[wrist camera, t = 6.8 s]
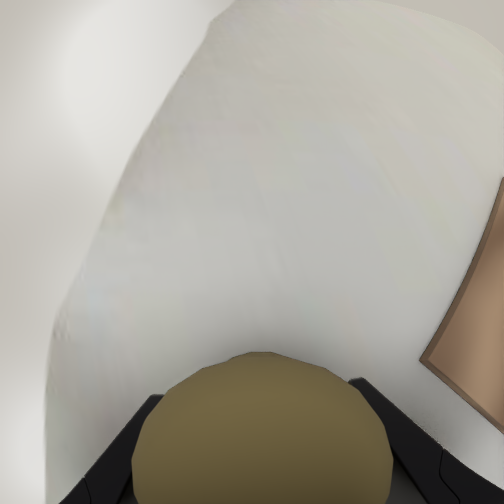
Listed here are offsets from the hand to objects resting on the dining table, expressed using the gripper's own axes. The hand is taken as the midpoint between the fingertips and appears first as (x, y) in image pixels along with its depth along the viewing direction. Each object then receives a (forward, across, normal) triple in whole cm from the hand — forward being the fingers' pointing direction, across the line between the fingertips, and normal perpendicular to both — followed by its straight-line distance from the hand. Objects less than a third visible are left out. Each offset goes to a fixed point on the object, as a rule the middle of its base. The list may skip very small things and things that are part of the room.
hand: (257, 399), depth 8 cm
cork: (+4, 0, +6) cm, 7 cm away
